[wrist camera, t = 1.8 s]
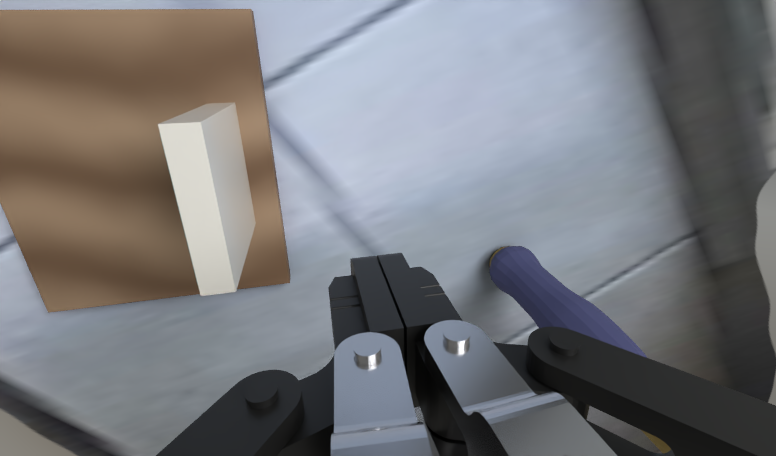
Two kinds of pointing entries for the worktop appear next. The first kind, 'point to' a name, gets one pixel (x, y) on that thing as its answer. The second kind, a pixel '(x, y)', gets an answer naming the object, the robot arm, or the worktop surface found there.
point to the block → (211, 192)
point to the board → (123, 147)
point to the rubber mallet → (555, 303)
